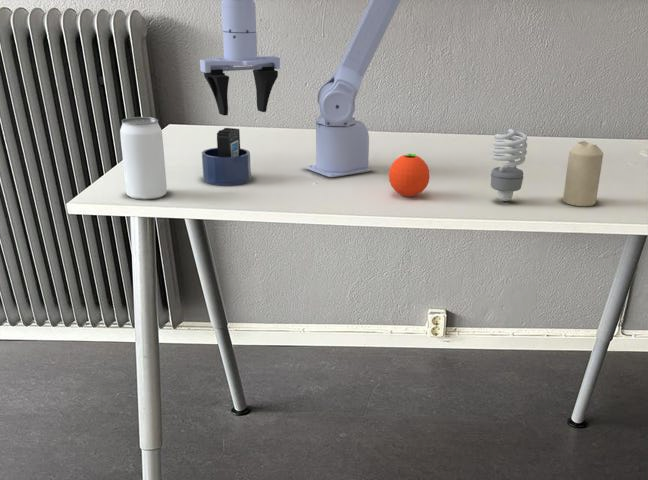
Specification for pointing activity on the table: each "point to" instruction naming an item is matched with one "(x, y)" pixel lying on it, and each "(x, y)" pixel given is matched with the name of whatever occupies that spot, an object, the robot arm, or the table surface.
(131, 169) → the can
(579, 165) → the candle
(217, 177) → the cup
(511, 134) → the light bulb
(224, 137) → the ink cartridge
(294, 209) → the table surface
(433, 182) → the table surface
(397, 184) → the clementine
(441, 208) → the table surface
